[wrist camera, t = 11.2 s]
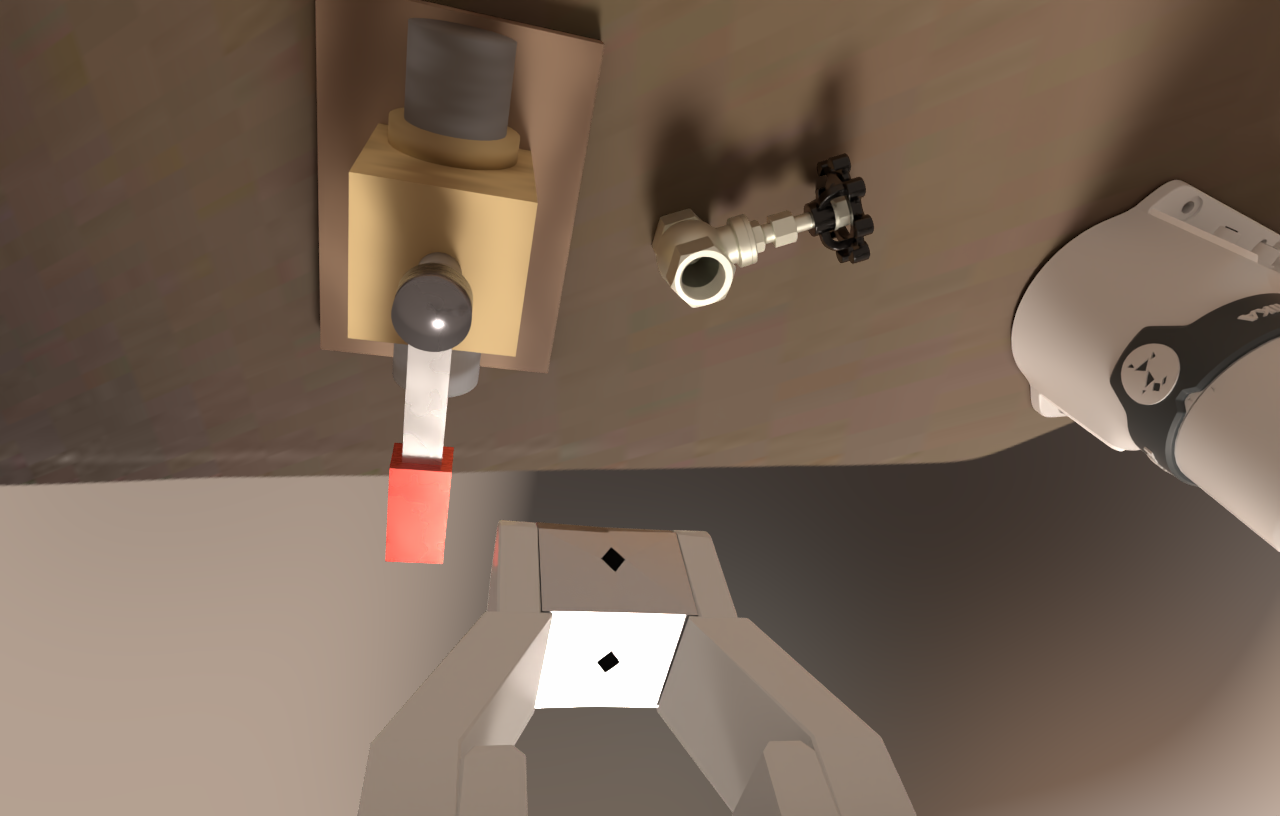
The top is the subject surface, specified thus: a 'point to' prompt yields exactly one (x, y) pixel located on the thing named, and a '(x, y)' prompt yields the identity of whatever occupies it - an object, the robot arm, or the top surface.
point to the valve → (760, 236)
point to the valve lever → (425, 410)
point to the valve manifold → (448, 172)
